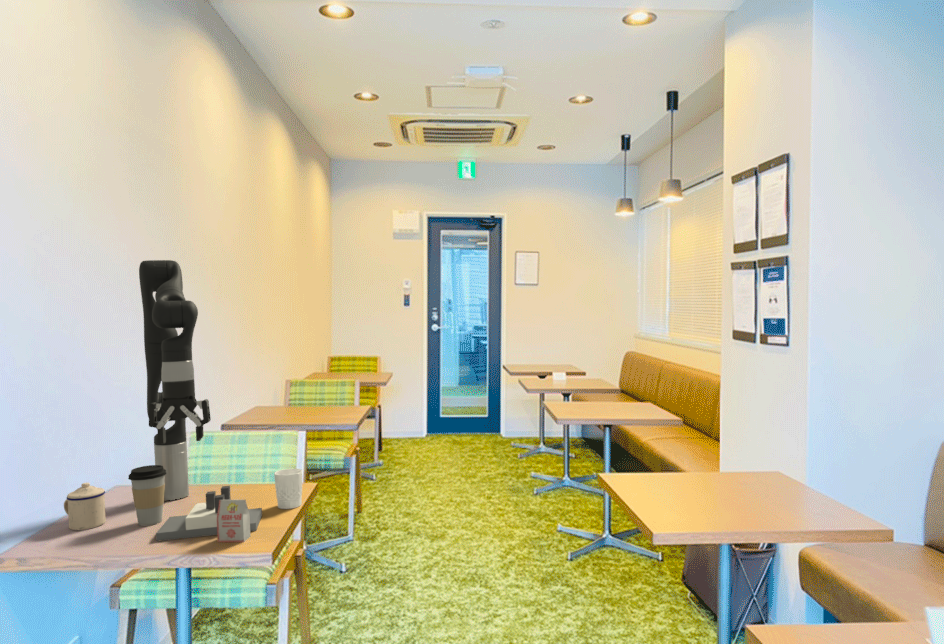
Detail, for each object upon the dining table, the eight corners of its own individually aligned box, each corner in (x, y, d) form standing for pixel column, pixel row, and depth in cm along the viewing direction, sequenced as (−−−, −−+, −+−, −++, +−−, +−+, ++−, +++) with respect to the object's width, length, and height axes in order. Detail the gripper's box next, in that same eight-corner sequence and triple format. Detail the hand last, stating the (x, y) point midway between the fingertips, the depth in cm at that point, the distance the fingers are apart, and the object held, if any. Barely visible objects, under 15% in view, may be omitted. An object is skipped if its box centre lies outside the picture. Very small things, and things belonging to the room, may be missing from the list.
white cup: (270, 509, 181) (268, 474, 181) (286, 500, 189) (285, 467, 188) (293, 510, 179) (291, 475, 178) (308, 502, 186) (307, 469, 186)
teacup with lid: (114, 520, 176) (112, 479, 176) (87, 531, 167) (84, 488, 167) (79, 518, 179) (77, 478, 179) (51, 529, 170) (49, 486, 170)
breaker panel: (170, 524, 171) (168, 490, 171) (262, 514, 176) (260, 481, 176) (156, 541, 158) (154, 504, 158) (256, 530, 163) (254, 495, 163)
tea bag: (224, 536, 159) (223, 497, 159) (250, 536, 159) (248, 497, 159) (217, 542, 156) (215, 502, 155) (243, 542, 155) (242, 501, 155)
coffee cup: (176, 517, 176) (174, 464, 176) (150, 529, 167) (148, 473, 167) (148, 516, 179) (146, 463, 178) (122, 527, 170) (119, 472, 169)
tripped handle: (208, 506, 168) (207, 491, 168) (216, 505, 168) (215, 490, 168) (206, 509, 165) (205, 494, 165) (214, 508, 166) (213, 493, 166)
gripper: (211, 375, 165) (213, 437, 165) (152, 378, 163) (155, 441, 163) (204, 378, 158) (207, 442, 158) (143, 381, 155) (146, 447, 155)
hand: (181, 441), depth 160 cm, fingers open, 8 cm apart
